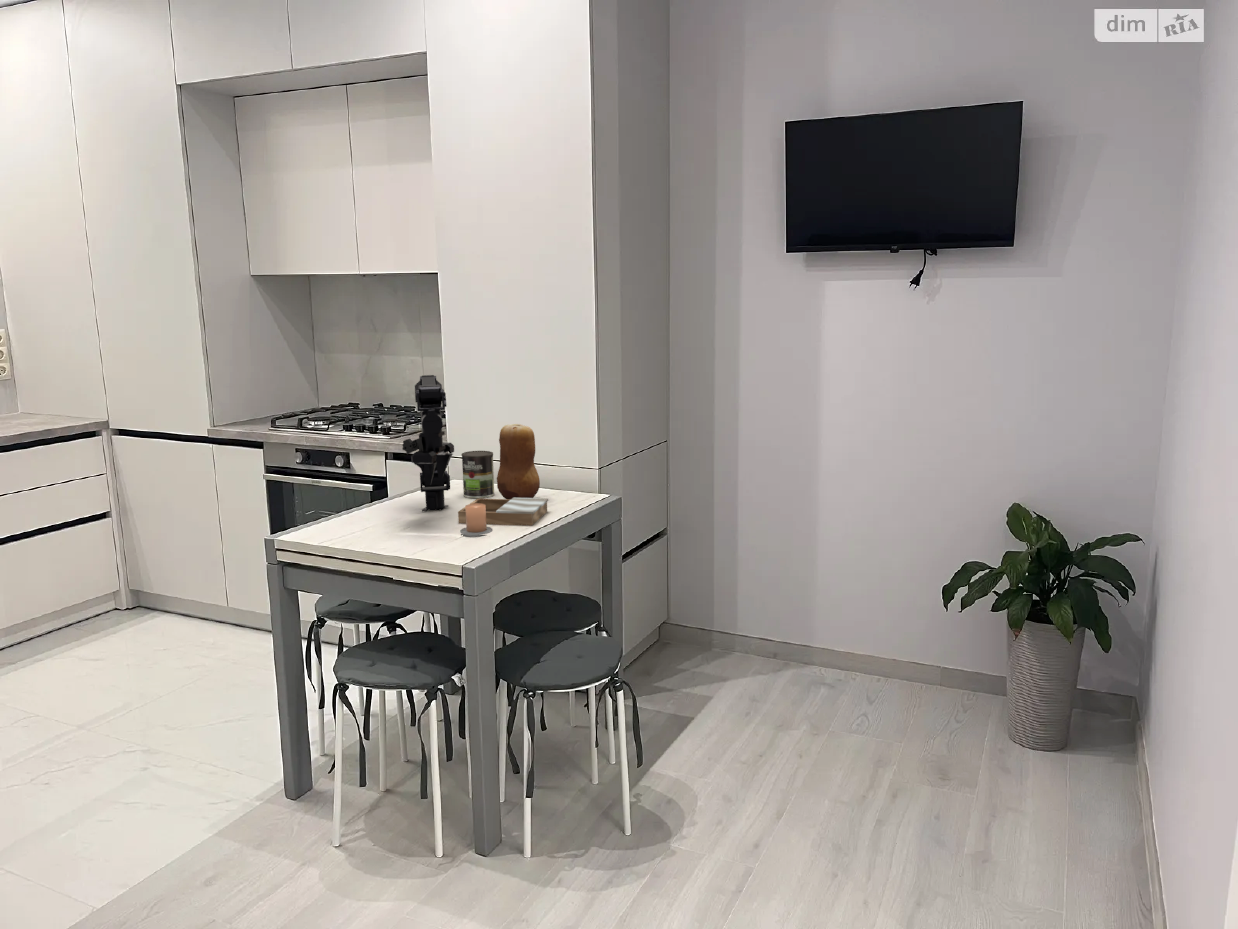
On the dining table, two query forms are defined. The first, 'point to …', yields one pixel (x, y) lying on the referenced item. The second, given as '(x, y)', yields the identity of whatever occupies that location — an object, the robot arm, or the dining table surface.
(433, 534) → the dining table surface
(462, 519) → the box
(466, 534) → the saucer
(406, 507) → the dining table surface
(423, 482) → the robot arm
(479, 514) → the tan cylinder
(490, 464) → the coffee can
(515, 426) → the butternut squash
